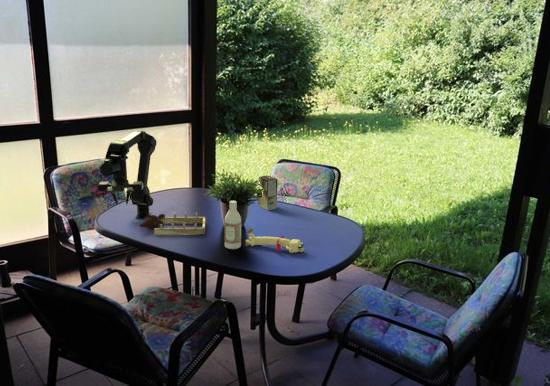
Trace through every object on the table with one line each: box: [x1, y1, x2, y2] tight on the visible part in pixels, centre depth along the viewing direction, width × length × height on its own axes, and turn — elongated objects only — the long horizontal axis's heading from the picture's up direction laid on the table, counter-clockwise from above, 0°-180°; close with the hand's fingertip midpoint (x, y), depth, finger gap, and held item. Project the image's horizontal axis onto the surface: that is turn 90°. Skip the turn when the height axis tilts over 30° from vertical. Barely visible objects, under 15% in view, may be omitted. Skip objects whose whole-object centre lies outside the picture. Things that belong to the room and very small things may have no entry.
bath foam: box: [224, 200, 242, 250], centre depth 204 cm, size 7×7×20 cm
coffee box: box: [257, 175, 278, 211], centre depth 255 cm, size 9×6×16 cm
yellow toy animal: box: [245, 227, 305, 254], centre depth 206 cm, size 10×9×25 cm
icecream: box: [138, 213, 166, 231], centre depth 222 cm, size 7×7×15 cm
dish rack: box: [153, 212, 206, 236], centre depth 224 cm, size 15×22×5 cm
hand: (122, 204), depth 218 cm, fingers open, 4 cm apart
